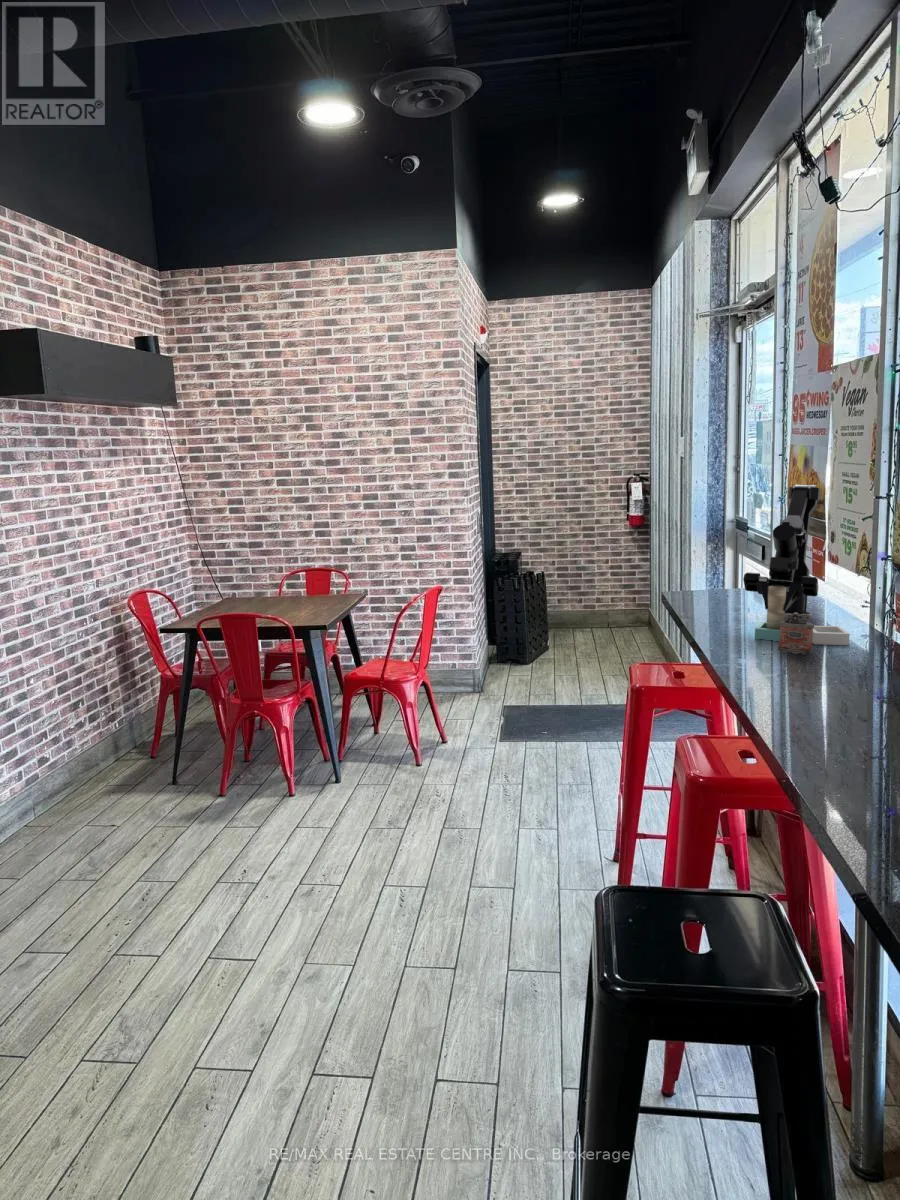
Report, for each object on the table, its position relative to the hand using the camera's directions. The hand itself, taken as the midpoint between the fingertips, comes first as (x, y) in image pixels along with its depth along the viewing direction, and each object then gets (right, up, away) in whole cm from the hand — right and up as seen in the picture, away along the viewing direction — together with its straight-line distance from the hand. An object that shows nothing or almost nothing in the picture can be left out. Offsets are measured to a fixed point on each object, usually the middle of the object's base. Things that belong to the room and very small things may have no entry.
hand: (775, 609), depth 222 cm
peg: (+1, -7, +3) cm, 7 cm away
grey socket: (+13, -8, -1) cm, 16 cm away
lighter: (0, -11, -11) cm, 16 cm away
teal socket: (+1, -8, +3) cm, 8 cm away
